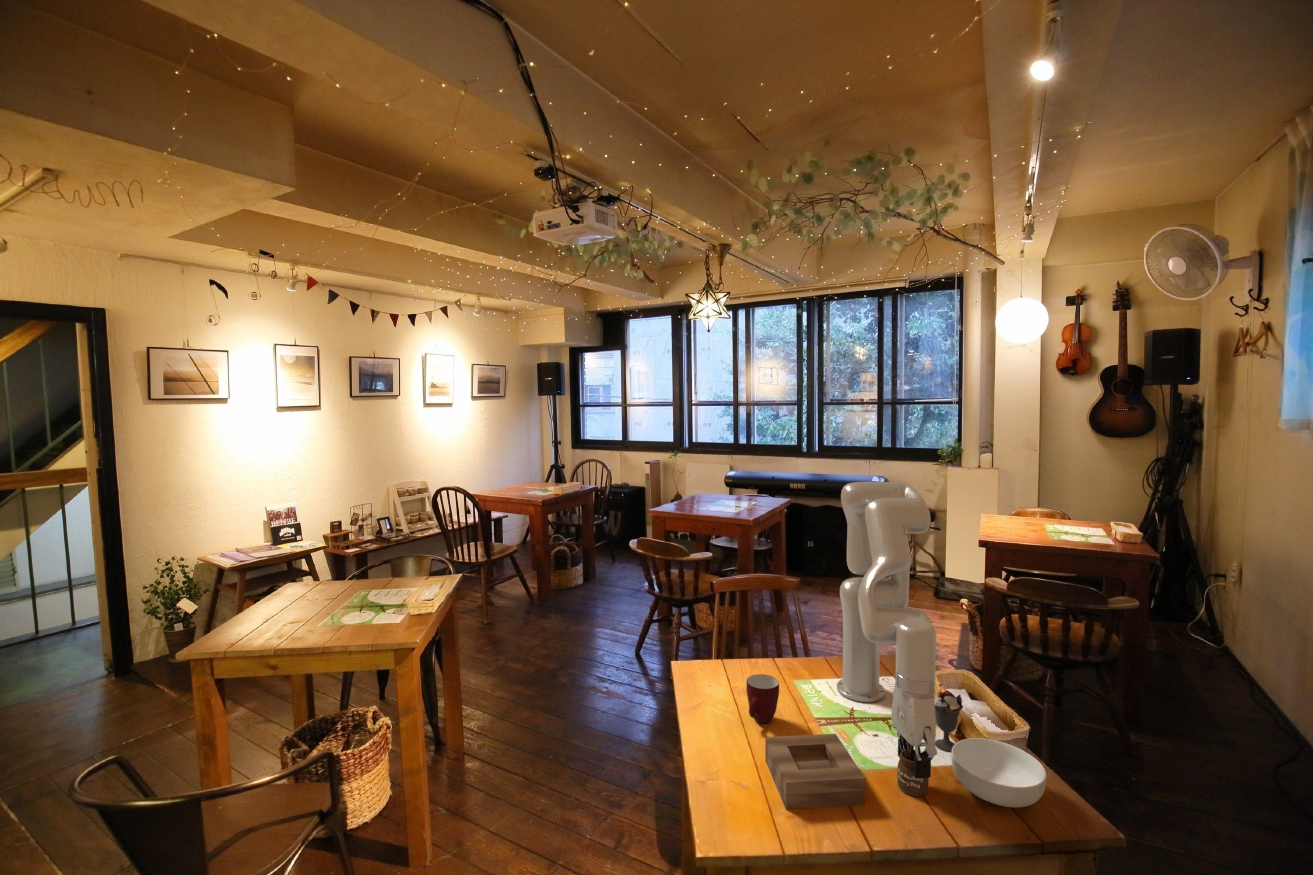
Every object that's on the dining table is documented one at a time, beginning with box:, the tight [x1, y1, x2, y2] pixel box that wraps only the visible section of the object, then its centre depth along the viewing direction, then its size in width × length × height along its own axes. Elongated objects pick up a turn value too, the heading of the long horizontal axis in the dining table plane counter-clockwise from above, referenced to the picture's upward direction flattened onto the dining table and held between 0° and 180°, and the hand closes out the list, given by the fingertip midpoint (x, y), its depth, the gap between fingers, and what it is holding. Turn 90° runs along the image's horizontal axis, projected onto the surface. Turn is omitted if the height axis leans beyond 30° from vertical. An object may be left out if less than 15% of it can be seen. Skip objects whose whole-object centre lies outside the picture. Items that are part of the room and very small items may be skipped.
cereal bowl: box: [950, 737, 1048, 808], centre depth 123 cm, size 17×17×7 cm
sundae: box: [934, 683, 964, 753], centre depth 139 cm, size 7×7×15 cm
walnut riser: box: [764, 733, 866, 810], centre depth 127 cm, size 16×16×6 cm
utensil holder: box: [896, 734, 930, 797], centre depth 124 cm, size 6×6×12 cm
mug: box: [746, 673, 780, 725], centre depth 151 cm, size 10×8×10 cm
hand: (913, 765), depth 124 cm, fingers open, 6 cm apart
